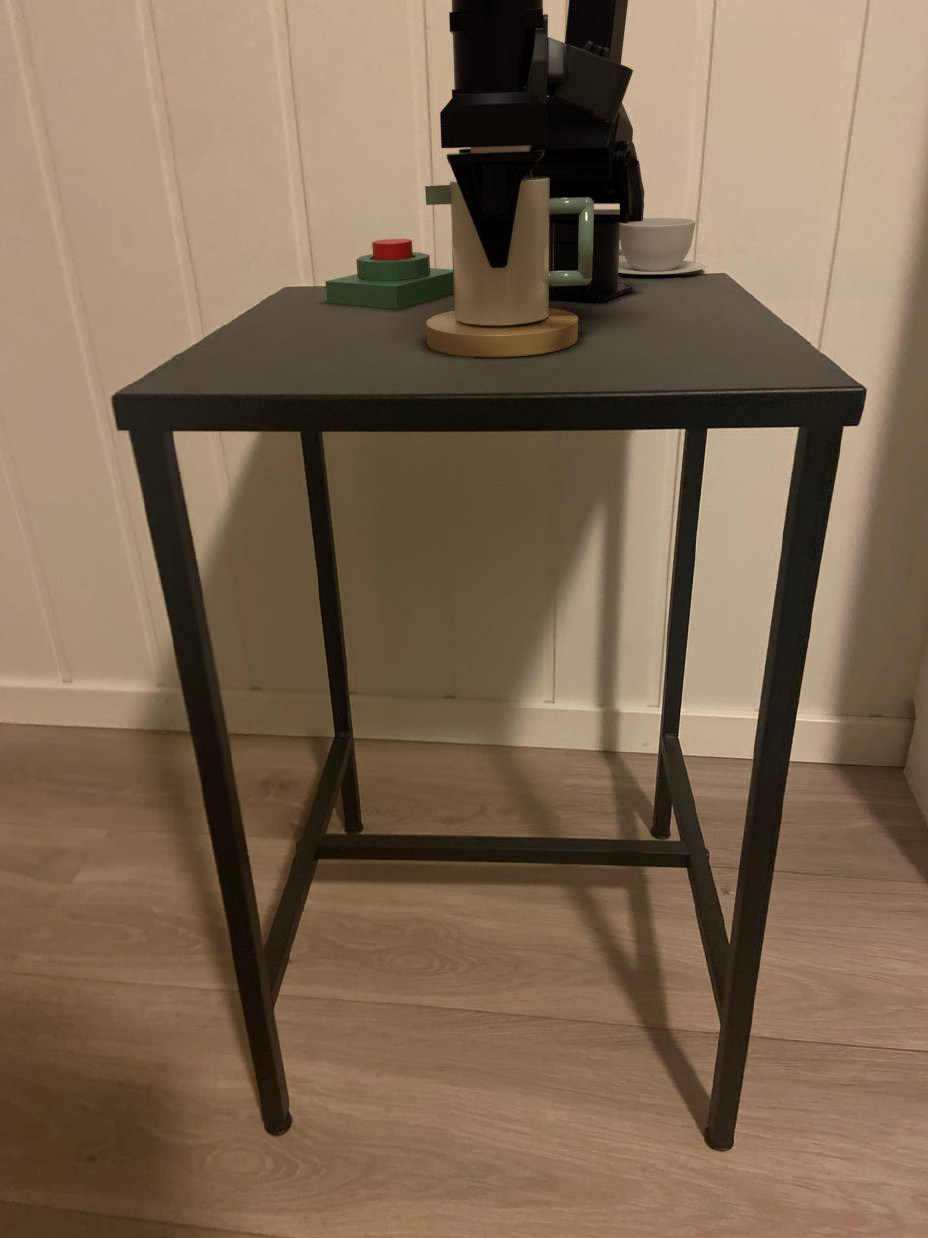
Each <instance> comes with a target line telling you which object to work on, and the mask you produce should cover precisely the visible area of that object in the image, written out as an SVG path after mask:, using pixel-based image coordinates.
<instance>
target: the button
mask: <svg viewBox="0 0 928 1238" xmlns="http://www.w3.org/2000/svg"><path fill="white" fill-rule="evenodd" d="M371 249H372V254H373V260H400V259H409V258H413V240H411V239H409V238H385V239H377V240H373V241H372V242H371Z"/></svg>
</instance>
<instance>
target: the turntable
mask: <svg viewBox="0 0 928 1238" xmlns="http://www.w3.org/2000/svg"><path fill="white" fill-rule="evenodd" d="M425 332H426V333H425V334H426V335H425V336H426V345H427V346H428V347H429V348H430V349H432V350H434V351H436V352H439V353H442V354H449V355H452V356H453V355H454V356H461V357H472V358H494V359H495V358H518V357H529V356H536V355H537V356H538V355H543V354H549V353H554V352H557V351H562V350H564V349H568V348H570V347H572V346H574V345H575V344H576V343H577V341H578V340H579V317H578V315H576V314H575V313H573V312H571V311H568V310H564V309H560V308H555V307H549V316H548V317H547V318H545V319H543V320H540V321H536V322H532V323H526V324H518V325H502V326H488V325H474V324H467V323H463V322H460V321H457V320H456V319H455V311H454V310H450V311H445V312H442V313H439V314H436V315H433V316H431V317H429V318H428V319H427V320H426V321H425Z"/></svg>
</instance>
